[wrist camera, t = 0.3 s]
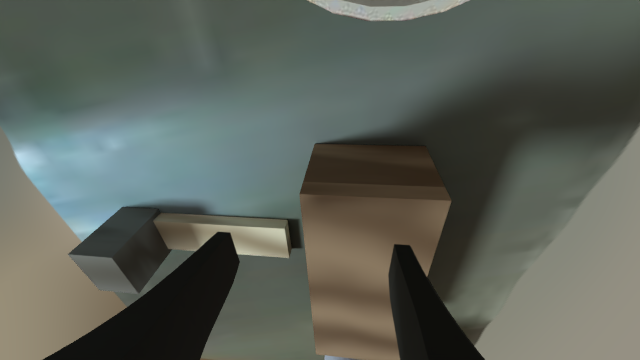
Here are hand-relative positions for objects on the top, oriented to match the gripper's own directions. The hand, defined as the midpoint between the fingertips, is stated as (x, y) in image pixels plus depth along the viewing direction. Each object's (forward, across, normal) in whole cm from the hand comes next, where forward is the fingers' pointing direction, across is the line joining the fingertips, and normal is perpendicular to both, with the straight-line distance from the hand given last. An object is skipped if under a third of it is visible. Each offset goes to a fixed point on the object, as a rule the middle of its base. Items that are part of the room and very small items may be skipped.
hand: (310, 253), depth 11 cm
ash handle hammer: (+10, +13, +10) cm, 19 cm away
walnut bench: (+10, -3, +10) cm, 14 cm away
